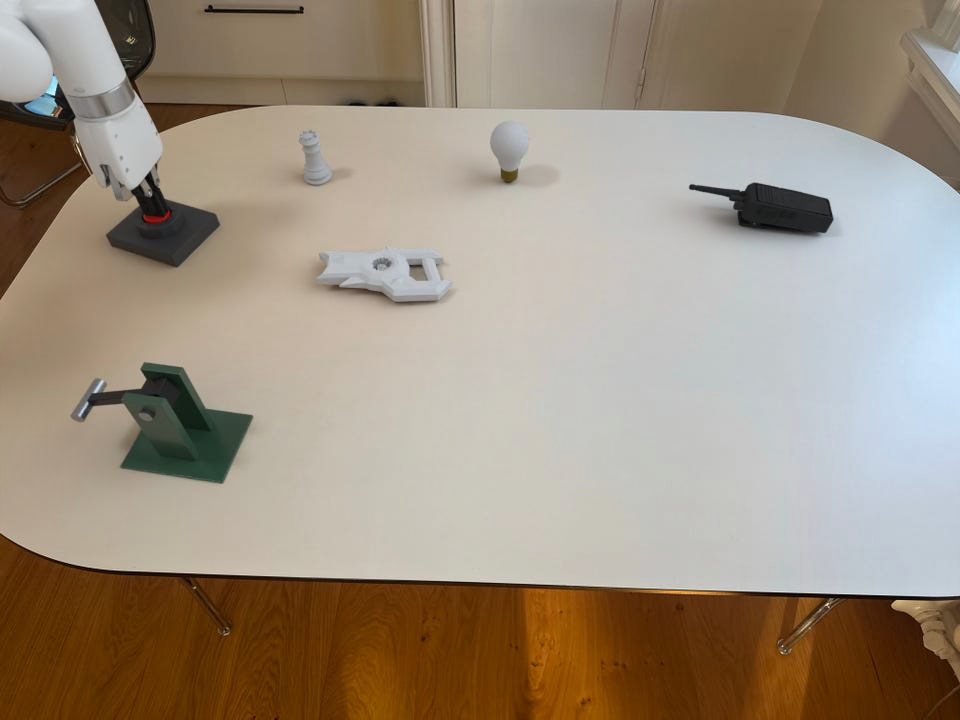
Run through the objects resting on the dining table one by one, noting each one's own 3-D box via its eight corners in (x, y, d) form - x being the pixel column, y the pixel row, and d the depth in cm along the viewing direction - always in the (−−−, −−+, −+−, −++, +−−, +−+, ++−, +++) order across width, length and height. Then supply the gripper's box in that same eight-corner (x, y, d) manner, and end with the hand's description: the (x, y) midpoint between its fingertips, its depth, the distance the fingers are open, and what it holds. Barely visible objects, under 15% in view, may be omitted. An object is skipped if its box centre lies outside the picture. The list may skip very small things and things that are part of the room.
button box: (111, 246, 103) (99, 225, 100) (156, 206, 109) (146, 184, 106) (177, 267, 100) (167, 246, 97) (220, 225, 105) (212, 203, 102)
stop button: (142, 227, 102) (137, 217, 100) (158, 212, 104) (154, 203, 102) (162, 233, 101) (157, 224, 99) (178, 218, 103) (174, 208, 102)
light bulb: (510, 164, 114) (511, 108, 106) (535, 181, 111) (538, 125, 103) (482, 179, 111) (481, 122, 104) (507, 197, 108) (508, 140, 101)
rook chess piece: (299, 183, 112) (287, 139, 105) (312, 167, 114) (301, 123, 108) (324, 188, 111) (314, 144, 104) (337, 172, 113) (328, 128, 107)
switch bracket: (124, 472, 79) (75, 411, 70) (160, 407, 84) (119, 343, 75) (225, 487, 77) (188, 427, 68) (255, 420, 83) (225, 356, 74)
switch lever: (80, 425, 76) (63, 412, 75) (103, 389, 79) (88, 375, 78) (165, 419, 72) (150, 405, 70) (187, 381, 75) (172, 366, 73)
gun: (312, 291, 91) (317, 241, 97) (316, 310, 93) (321, 259, 100) (453, 287, 92) (449, 238, 99) (453, 306, 95) (449, 256, 101)
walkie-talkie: (832, 236, 98) (689, 212, 99) (814, 239, 104) (680, 216, 105) (842, 191, 97) (698, 168, 98) (824, 197, 103) (688, 175, 104)
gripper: (103, 62, 92) (157, 179, 106) (39, 126, 83) (107, 245, 97) (156, 66, 91) (203, 183, 105) (97, 131, 82) (157, 250, 96)
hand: (157, 212), depth 101 cm, fingers closed
